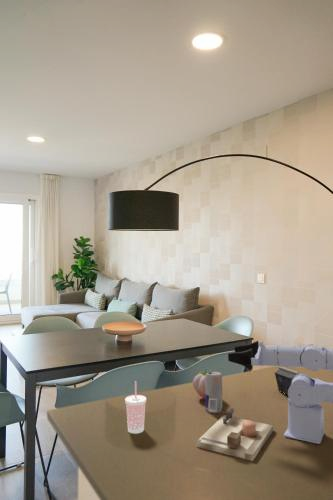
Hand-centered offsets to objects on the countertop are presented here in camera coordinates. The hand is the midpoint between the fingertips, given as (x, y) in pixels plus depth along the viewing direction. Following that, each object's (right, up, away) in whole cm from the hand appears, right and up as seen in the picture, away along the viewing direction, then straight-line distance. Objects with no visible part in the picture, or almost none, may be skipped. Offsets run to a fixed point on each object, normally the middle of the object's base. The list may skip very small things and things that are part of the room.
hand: (231, 353), depth 122 cm
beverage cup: (-28, -21, -5) cm, 35 cm away
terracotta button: (+3, -20, -10) cm, 22 cm away
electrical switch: (+24, -21, +23) cm, 39 cm away
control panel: (0, -21, -10) cm, 23 cm away
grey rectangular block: (-1, -18, -2) cm, 19 cm away
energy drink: (-4, -21, +9) cm, 23 cm away
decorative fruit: (-6, -21, +19) cm, 29 cm away
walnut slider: (-2, -19, -18) cm, 26 cm away
